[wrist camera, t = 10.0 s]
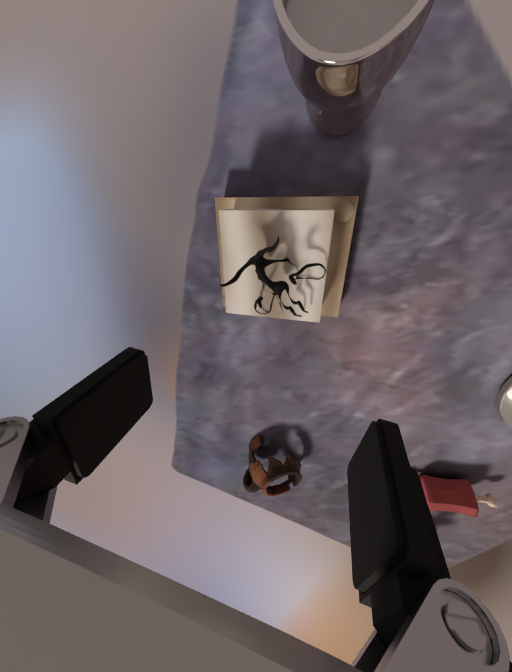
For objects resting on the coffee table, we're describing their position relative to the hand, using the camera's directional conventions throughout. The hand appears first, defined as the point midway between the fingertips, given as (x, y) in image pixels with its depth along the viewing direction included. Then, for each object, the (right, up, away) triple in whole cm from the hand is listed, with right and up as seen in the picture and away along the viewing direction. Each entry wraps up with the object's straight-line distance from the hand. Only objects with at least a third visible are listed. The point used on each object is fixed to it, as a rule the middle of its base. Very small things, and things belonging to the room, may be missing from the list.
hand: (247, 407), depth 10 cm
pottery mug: (+3, -20, +37) cm, 42 cm away
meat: (+30, -20, +29) cm, 46 cm away
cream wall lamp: (+4, +13, +19) cm, 23 cm away
